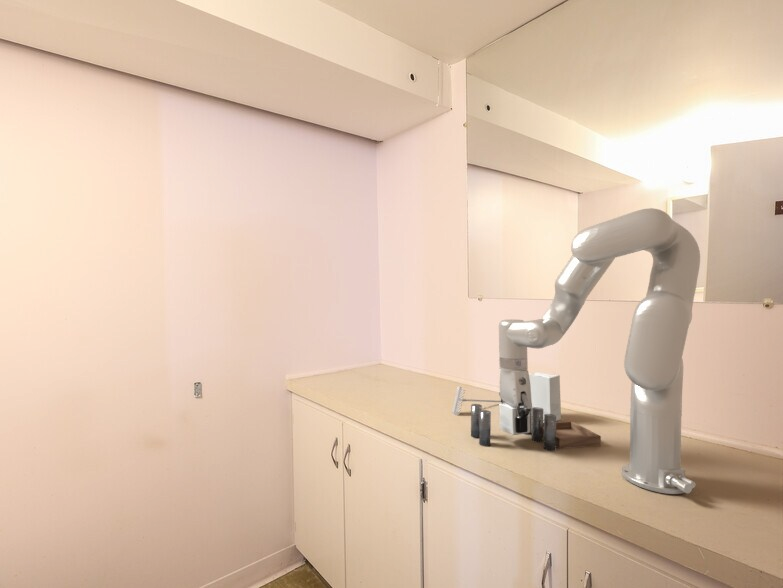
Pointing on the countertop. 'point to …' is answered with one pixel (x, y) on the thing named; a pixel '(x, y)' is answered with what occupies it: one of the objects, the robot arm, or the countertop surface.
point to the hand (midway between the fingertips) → (514, 427)
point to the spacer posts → (483, 432)
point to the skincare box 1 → (510, 418)
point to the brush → (464, 400)
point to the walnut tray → (574, 435)
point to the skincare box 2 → (546, 393)
